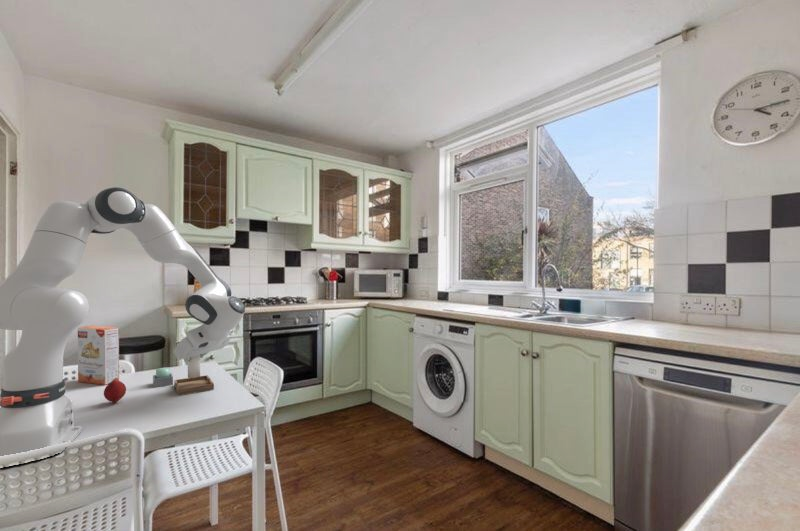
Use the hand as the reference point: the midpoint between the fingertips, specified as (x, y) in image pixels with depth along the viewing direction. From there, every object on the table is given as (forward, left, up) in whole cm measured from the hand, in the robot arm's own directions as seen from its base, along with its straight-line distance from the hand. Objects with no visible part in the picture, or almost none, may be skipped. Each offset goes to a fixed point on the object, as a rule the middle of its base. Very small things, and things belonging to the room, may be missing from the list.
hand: (192, 358), depth 141 cm
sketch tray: (-1, 0, -10) cm, 10 cm away
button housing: (+10, +9, -10) cm, 17 cm away
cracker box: (+27, +29, -11) cm, 41 cm away
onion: (-4, +23, -11) cm, 25 cm away
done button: (+10, +9, -9) cm, 16 cm away
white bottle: (-1, 0, -6) cm, 6 cm away
